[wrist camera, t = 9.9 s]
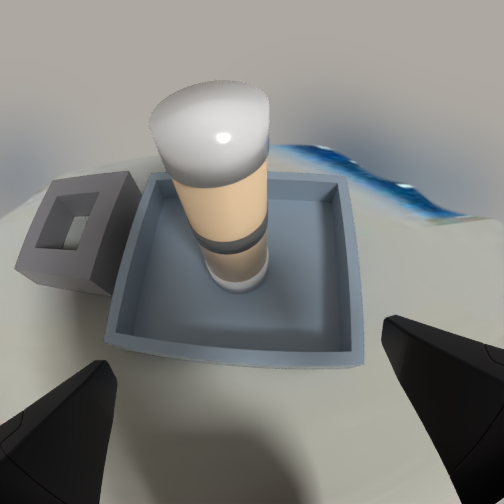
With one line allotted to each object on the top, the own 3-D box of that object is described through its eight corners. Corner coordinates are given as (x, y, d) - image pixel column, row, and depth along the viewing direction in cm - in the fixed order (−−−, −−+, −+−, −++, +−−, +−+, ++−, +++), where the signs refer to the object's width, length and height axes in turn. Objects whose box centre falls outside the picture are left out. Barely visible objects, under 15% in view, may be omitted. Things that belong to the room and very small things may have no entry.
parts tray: (338, 199, 23) (346, 176, 20) (349, 368, 17) (364, 364, 14) (160, 195, 24) (150, 173, 21) (124, 349, 18) (103, 342, 15)
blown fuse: (278, 256, 20) (289, 93, 9) (248, 305, 19) (221, 160, 7) (230, 232, 21) (199, 75, 10) (199, 276, 20) (125, 129, 8)
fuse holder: (142, 195, 24) (128, 170, 21) (112, 296, 20) (89, 279, 17) (68, 200, 25) (52, 180, 22) (36, 283, 20) (14, 268, 17)
